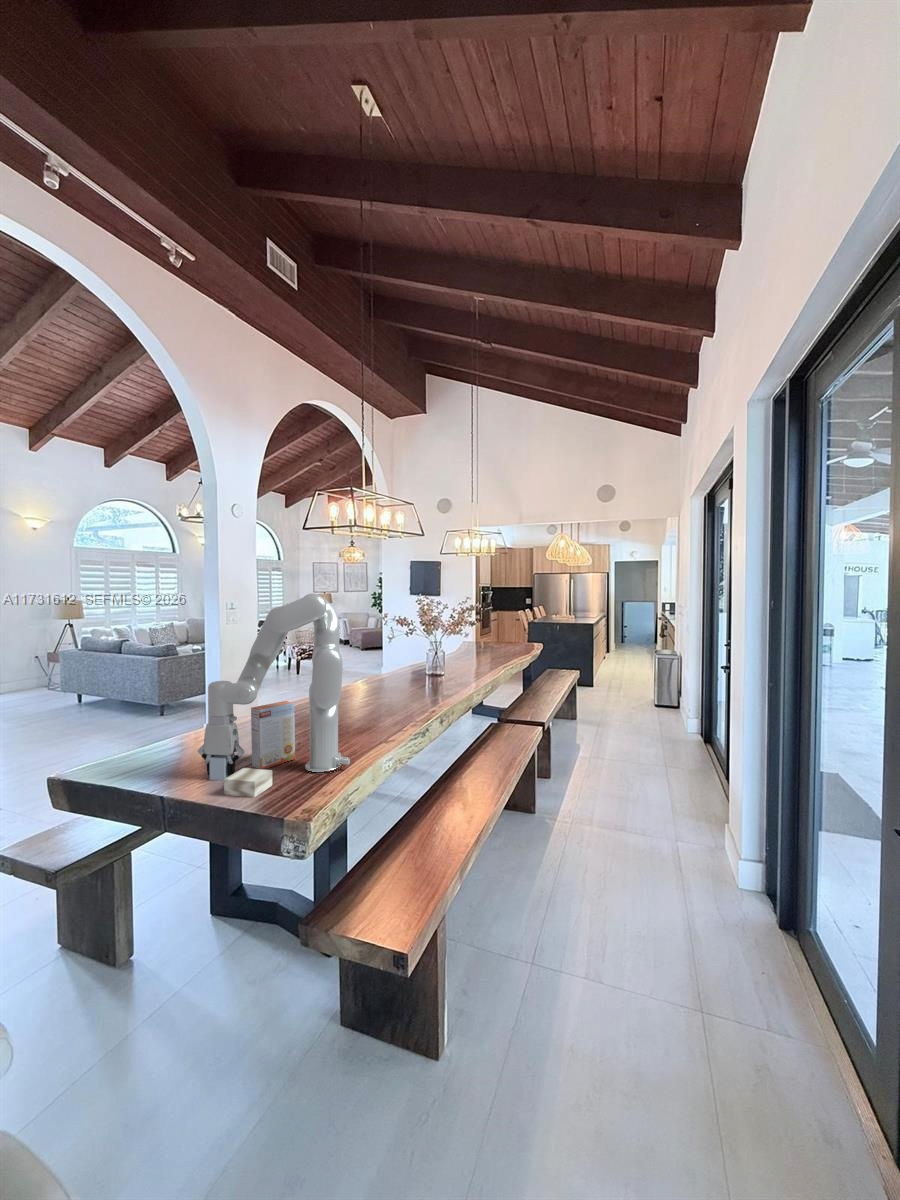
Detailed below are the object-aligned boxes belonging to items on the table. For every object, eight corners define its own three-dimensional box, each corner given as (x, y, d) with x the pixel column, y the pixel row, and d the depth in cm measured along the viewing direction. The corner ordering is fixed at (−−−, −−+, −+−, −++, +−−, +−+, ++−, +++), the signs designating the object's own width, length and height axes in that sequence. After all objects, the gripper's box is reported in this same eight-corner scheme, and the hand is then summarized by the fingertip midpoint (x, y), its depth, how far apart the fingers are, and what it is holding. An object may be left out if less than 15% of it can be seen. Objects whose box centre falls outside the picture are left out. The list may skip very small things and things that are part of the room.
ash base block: (272, 786, 168) (272, 770, 168) (254, 798, 158) (254, 781, 158) (243, 783, 170) (243, 767, 170) (224, 795, 160) (224, 779, 160)
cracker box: (285, 757, 195) (285, 700, 195) (295, 760, 192) (295, 702, 191) (250, 766, 185) (250, 706, 184) (260, 770, 181) (259, 709, 180)
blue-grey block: (232, 775, 177) (232, 754, 176) (224, 780, 172) (224, 758, 171) (218, 774, 177) (217, 753, 177) (209, 779, 172) (209, 758, 172)
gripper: (251, 717, 177) (251, 771, 177) (202, 715, 179) (202, 769, 179) (240, 723, 169) (240, 779, 170) (188, 721, 171) (189, 777, 172)
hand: (221, 773), depth 174 cm, fingers open, 6 cm apart
